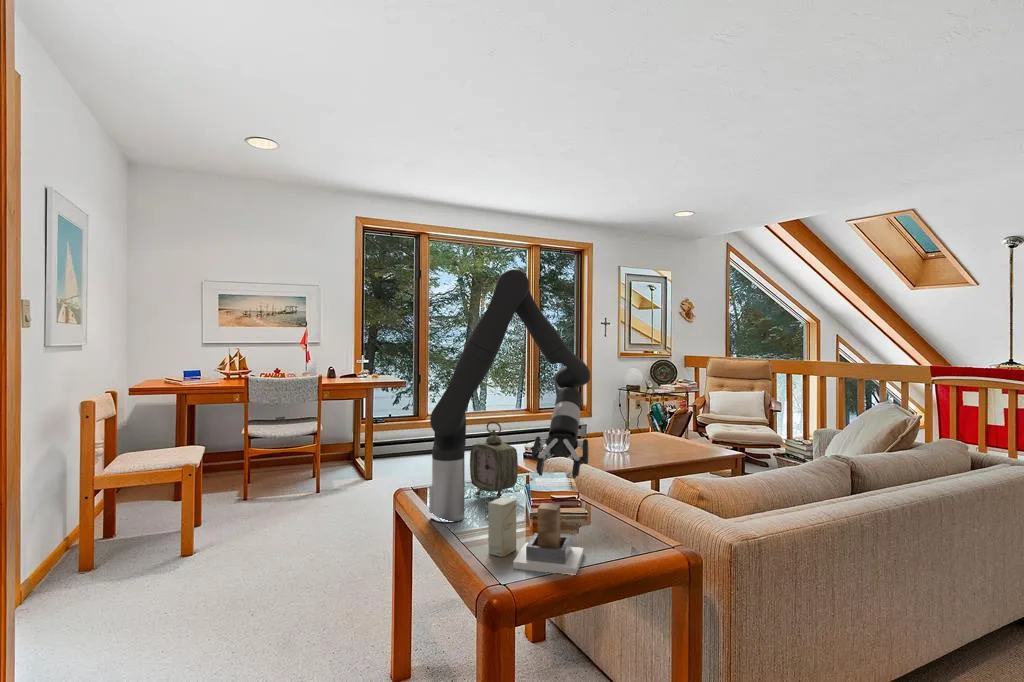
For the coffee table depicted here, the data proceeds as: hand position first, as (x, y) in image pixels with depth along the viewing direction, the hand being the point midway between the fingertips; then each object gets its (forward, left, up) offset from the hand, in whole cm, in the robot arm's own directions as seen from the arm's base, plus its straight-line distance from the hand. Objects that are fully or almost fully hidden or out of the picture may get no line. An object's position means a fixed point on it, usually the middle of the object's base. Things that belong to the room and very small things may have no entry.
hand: (556, 475), depth 128 cm
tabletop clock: (-27, +34, -17) cm, 47 cm away
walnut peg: (0, -10, -16) cm, 19 cm away
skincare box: (-12, -7, -17) cm, 22 cm away
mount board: (0, -10, -17) cm, 20 cm away
